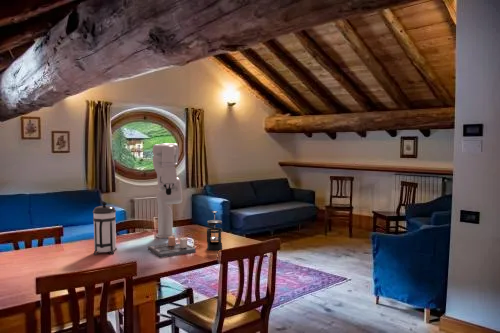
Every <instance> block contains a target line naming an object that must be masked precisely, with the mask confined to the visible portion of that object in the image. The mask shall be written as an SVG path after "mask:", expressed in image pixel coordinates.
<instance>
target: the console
mask: <svg viewBox="0 0 500 333" xmlns="http://www.w3.org/2000/svg"><path fill="white" fill-rule="evenodd" d="M147 251H148V252H150V253H152V254H153V255H155V256H156V257H158V258H159V259H160V258H167V257H174V256H180V255H185V254H192V253H196V252H197V250H196V248H195V247H193V246H192V245H191V244H187V248H181V247H180V244H176V246H169V245H168V243H167V244H165V243H163V244H158V245H151V246H147Z"/></svg>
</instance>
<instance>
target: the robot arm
mask: <svg viewBox="0 0 500 333" xmlns="http://www.w3.org/2000/svg"><path fill="white" fill-rule="evenodd" d="M179 153H180V147H179V145H178V144H177V143H175V142H173V143H172V142H165V143H164V142H163V143H159V144H157V143H156V144H154V145H153V146H152V155H153V157H152V164H153V165H152V166H153V169H154V171H155V173H156V178H157V188H158V192H157V193H156V203H157V220H158V221H157V222H158V223H157V226H158V227H157V229H158V231H157V232H158V233H156V234H155V236H156V238H161V239H168V237H170V236H174V237H176V234H175V232H173V209H172V208H171V206H169V205H175V204H178V205H179V204H181V203H182V202H183V196H184V195H183V190H182V182H181V179H180V178H179V177H178V176H177V174H178V173H177V168H176V167H175V166H177V165H178V163H179Z"/></svg>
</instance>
